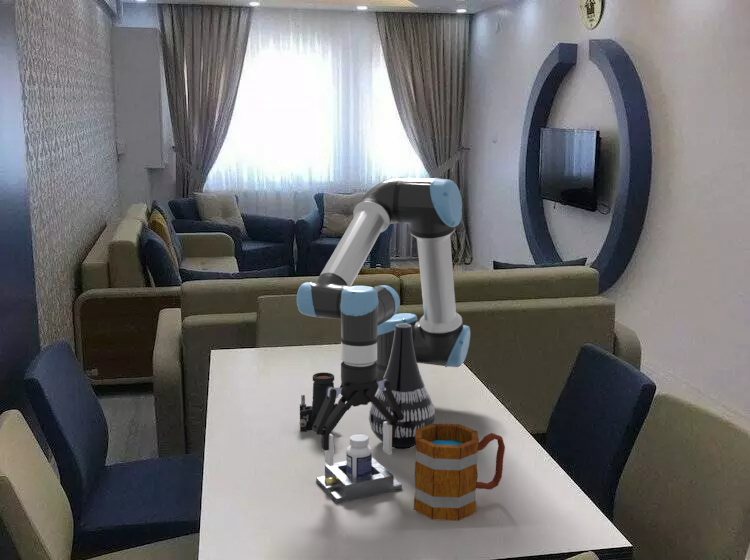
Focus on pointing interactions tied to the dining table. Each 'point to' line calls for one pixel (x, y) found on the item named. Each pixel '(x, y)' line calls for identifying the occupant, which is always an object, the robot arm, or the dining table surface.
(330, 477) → the coupler block
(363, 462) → the pill bottle
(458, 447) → the mug
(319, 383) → the scope
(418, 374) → the vase
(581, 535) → the dining table surface
